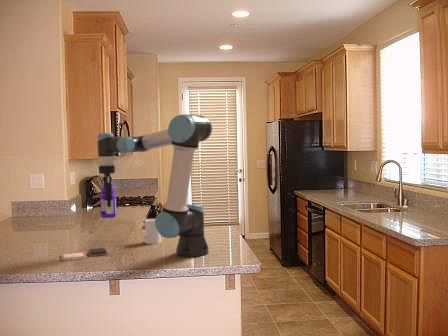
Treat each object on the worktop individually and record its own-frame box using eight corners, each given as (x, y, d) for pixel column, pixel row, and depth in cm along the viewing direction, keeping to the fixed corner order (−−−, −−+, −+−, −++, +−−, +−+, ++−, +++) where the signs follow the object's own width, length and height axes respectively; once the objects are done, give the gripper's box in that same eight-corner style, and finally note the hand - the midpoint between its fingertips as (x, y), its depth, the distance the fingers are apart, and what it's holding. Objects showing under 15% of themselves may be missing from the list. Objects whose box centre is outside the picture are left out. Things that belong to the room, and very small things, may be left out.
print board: (86, 257, 211) (86, 256, 211) (61, 260, 207) (61, 258, 207) (85, 252, 221) (85, 251, 221) (61, 255, 217) (61, 253, 217)
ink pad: (107, 254, 215) (107, 251, 215) (90, 256, 212) (89, 253, 212) (105, 250, 223) (105, 247, 223) (88, 252, 221) (88, 249, 221)
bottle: (117, 216, 224) (116, 181, 223) (114, 218, 218) (113, 182, 217) (102, 216, 224) (101, 181, 223) (99, 218, 218) (98, 182, 217)
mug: (142, 245, 232) (141, 222, 232) (137, 242, 240) (136, 220, 239) (163, 242, 238) (163, 220, 237) (158, 239, 246) (157, 217, 245)
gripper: (116, 165, 212) (118, 214, 213) (112, 164, 230) (114, 209, 231) (100, 166, 209) (102, 216, 210) (97, 164, 227) (99, 210, 228)
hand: (108, 212), depth 221 cm, fingers closed on bottle, 6 cm apart
